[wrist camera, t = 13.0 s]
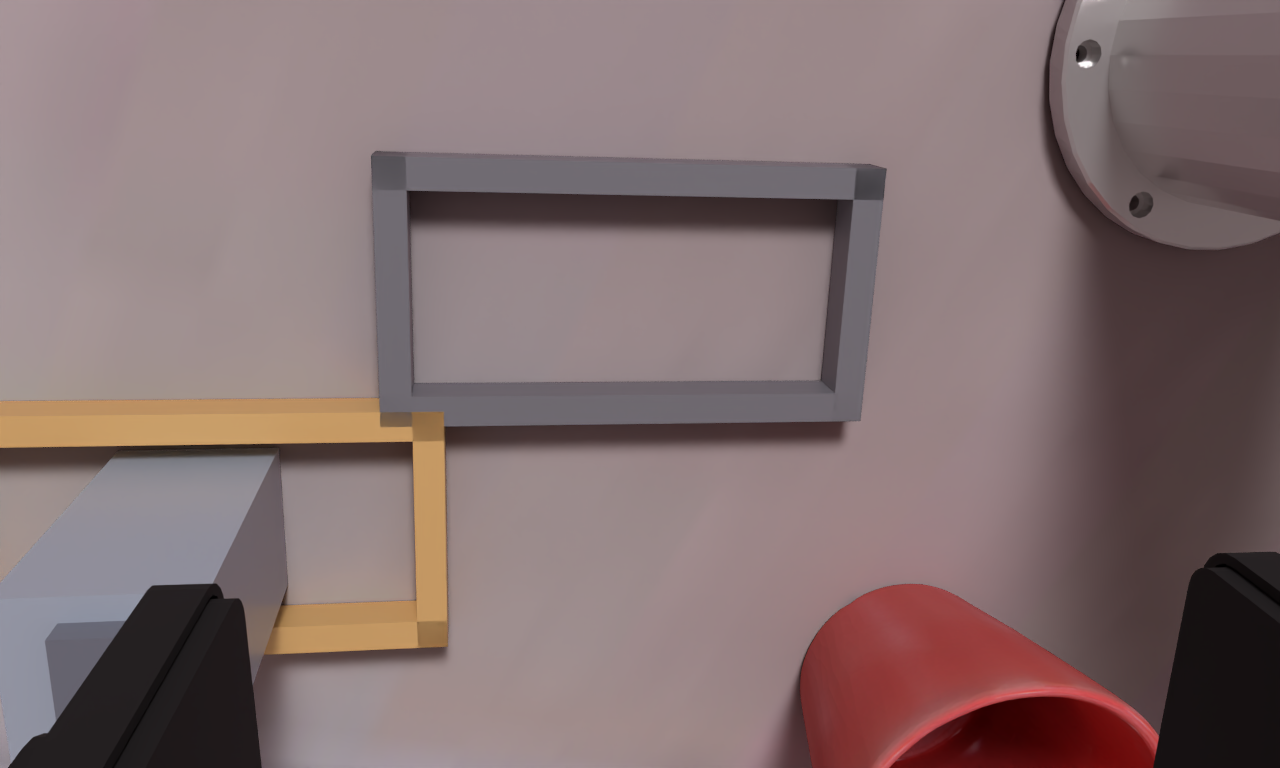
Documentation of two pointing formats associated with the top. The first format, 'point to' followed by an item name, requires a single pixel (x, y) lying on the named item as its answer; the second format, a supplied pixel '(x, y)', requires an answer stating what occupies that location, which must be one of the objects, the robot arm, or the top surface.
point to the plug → (137, 567)
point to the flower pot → (954, 693)
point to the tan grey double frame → (436, 405)
